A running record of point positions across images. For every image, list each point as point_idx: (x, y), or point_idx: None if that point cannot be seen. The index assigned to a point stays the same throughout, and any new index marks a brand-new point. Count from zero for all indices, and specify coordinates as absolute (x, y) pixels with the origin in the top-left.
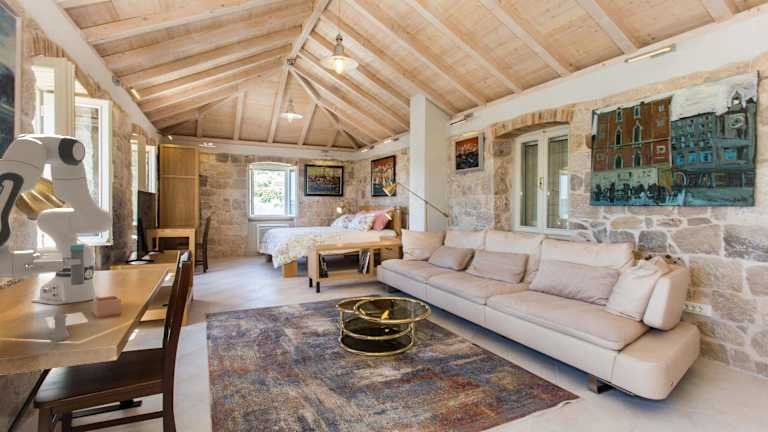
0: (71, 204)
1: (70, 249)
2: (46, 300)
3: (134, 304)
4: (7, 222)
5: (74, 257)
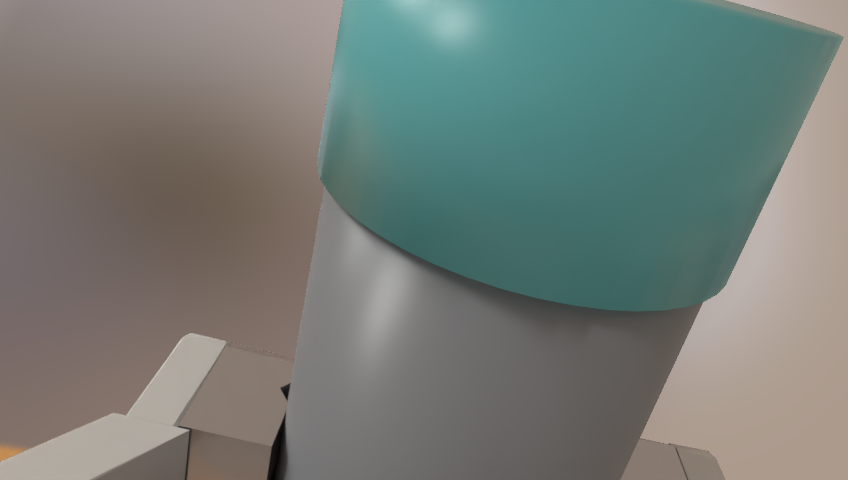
0: None
1: (636, 254)
2: None
3: None
4: None
5: (614, 476)
